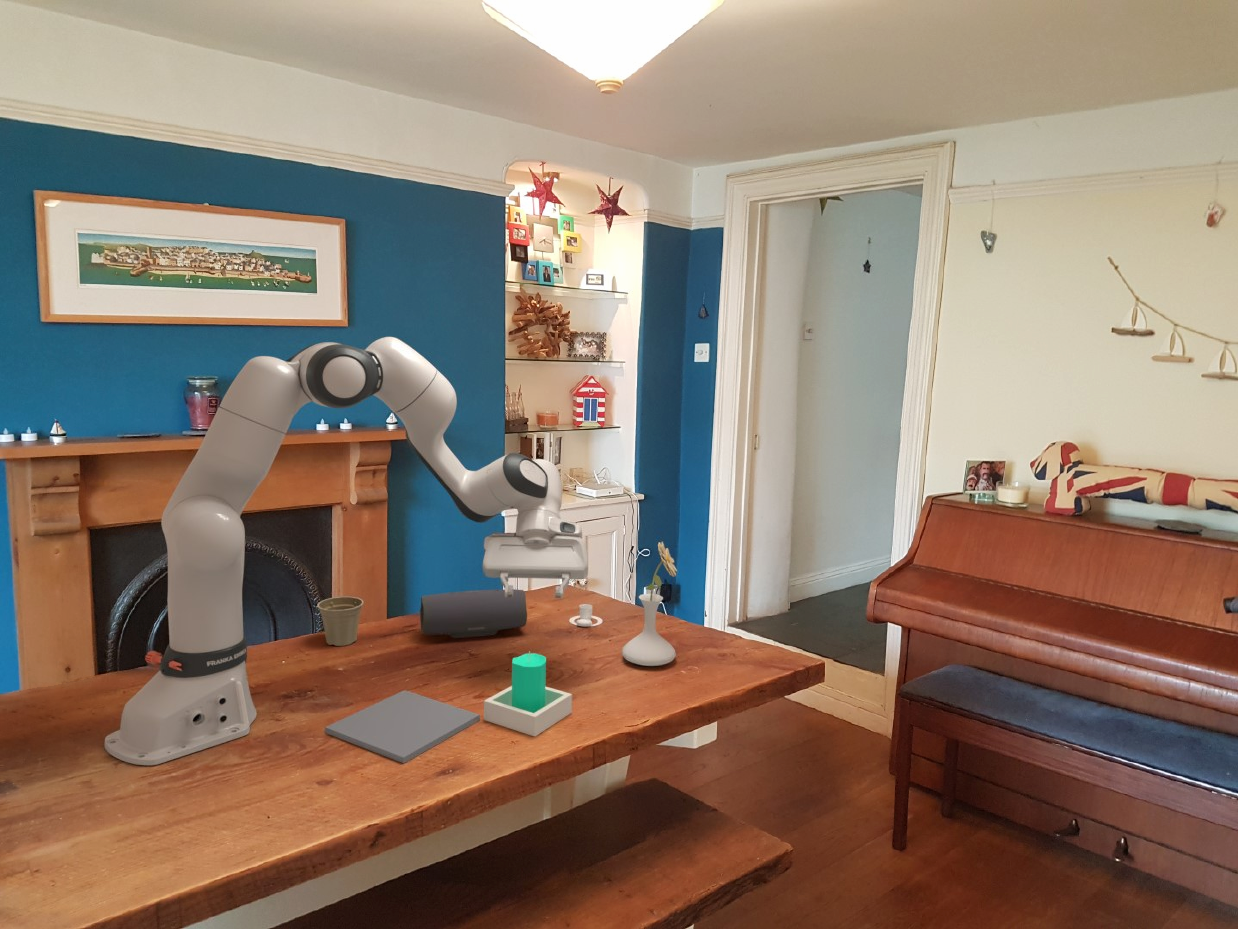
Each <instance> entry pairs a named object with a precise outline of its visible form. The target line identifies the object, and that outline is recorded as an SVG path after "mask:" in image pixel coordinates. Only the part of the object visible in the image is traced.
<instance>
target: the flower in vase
mask: <svg viewBox="0 0 1238 929" xmlns="http://www.w3.org/2000/svg"><path fill="white" fill-rule="evenodd" d="M657 548H658V549H657V550H658V553H659V555H660V558H661V559H660V560H661V561H660V563H659V564H658V565H657V567H656V570H655V572H654V575H653V576H652V577H653V578H652V583H649V585H648V586H647V587H646V588H645V590H649V591H650V593H643V594H640V595H639V596H638V599H639V600H640V602H641V603H642V606H643V610H644V625H643V626H644V627H643V630H642V631H641V632H640V633H639V634H638V635H636V636H635V637H633V638H632V639H631V640H629V641H628V642H627V643H626V644H625V645H624V646H623V647H622V649H621V655H622V656H623V658H624V659H625V660H626V661H628V662H630V663H632V664H636V665H640V666H644V667H645V666H646V667H655V666H656V667H657V666H663V665H666V664H669V663H671V662H672V661H673V660H674V659H675V658H676V655H677V653H676V650H675V647H673V646H672V644H671V643H669V642H668V641H667V640H666V639H665V638H663V637H662V636H661V635H660V634H659V633H658V631H657V628H656V618H657V617H656V616H657V612H658V607H659V605H660V604H661V602H662V601H663V600H664V597H663V596H662V595H660V594H656V593H653V591H654V590H656V589H657V588H660V587H661V586H662V584H663V583H662V580H661V579H662V578H660V576H659V575H657V573H658V571H659V569H660V567H661V566H662V564H663V566H664V568H665V569H666V571H667V573H668V574H669V576H672V577H677V573H676V572H678V569H677V567H676V566H675V564H674V563H675V560H674V558H673V557H671V553H670V550H669V547H667V548H665V544H664V541H661V542H658V544H657Z"/></svg>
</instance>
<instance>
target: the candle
mask: <svg viewBox="0 0 1238 929" xmlns="http://www.w3.org/2000/svg"><path fill="white" fill-rule="evenodd" d="M546 671H547V657H546V656H544V655H542V654H539V653H532V652H531V651H530V650H529V651H528V653H524V654H522V655H519V656H518V657H517V656H516V657H512V662H511V686H512V707H515V708H519V709H522V710H525V711H528V712H531V713H535V712H537V711H538V710H540V709H542V708H543V707H545V686H546V684H547V683H546V681H547V680H546V677H547V676H546V675H547V672H546Z"/></svg>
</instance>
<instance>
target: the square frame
mask: <svg viewBox="0 0 1238 929" xmlns="http://www.w3.org/2000/svg"><path fill="white" fill-rule="evenodd" d="M572 706H573V693H569V692H566V691H563V690H560V689H559V690H558V689H556V688H552V687H549V686H546V685H545V707H543V708H542V709H540V710H538V711H537V712H535V713H531V712H528V711H525V710H522V709H519V708H515V707H512V685H510V686H509V687H507V688H505V689H503V690H501V691H499V692H497V693H496V694H494V695H492V696H490V697H488V698H486V699H485V700H483V721H486V722H489V723H492V724H495V725H498V726H501V727H504V728H507V729H509V730H510V729H511V730H514V731H517V732H519V733H523V734H525V735H529V736H532V737H537V736H538V735H540V734H542V732H544V731H546V730H548V729H549V728H550V727H552V726H553V725H555V724H557V723H558V722H560V721H561V720H562V719H564V718H566V717H567V716H569V715H570V714H572V709H573V707H572Z"/></svg>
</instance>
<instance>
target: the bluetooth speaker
mask: <svg viewBox="0 0 1238 929" xmlns="http://www.w3.org/2000/svg"><path fill="white" fill-rule="evenodd" d="M513 589H514V588H513ZM526 598H527V595H526V592H525V590H523V589H516V588H515V589H514V591H513V597H505V589H483V590H482V589H480V590H465V591H464V590H463V591H455V592H444V593H435V594H428V595H423V596H420V608H419V613H420V614H419V616H420V618H419V620H420V630H421V633H422V634H423V635H449V637H451V638H453V639H457V638H460V639H461V638H462V639H463V638H472V637H473V638H475V637H485V636H493V635H496V634H497V633H498V632H499V631H504V630H509V629H516V628H520V627H525V626H526V625H527V622H528V612H527V611H528V609H527V600H526Z"/></svg>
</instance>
